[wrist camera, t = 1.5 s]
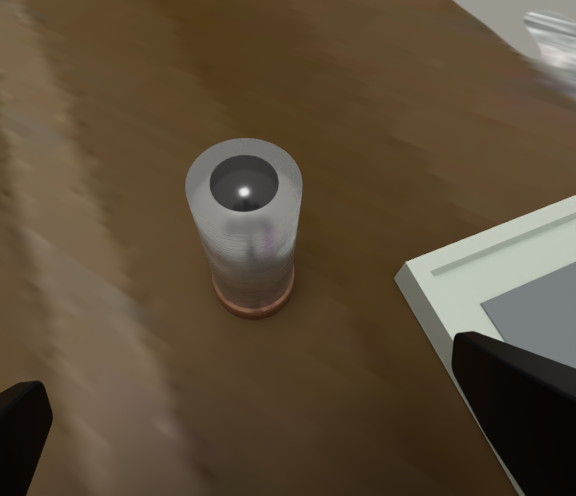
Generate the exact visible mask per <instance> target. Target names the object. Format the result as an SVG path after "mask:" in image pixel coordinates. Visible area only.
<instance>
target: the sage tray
mask: <svg viewBox="0 0 576 496" xmlns="http://www.w3.org/2000/svg"><path fill="white" fill-rule="evenodd" d="M394 280H395V282H396V283H397V285H398V287H399V288H400V290H401V292H402V294H403V295H404V297H405V299H406V301H407V302H408V304H409V306H410V308H411V309H412V311H413V313H414V314H415V316H416V318H417V320H418V321H419V323H420V325H421V327H422V328H423V330H424V332H425V334H426V335H427V337H428V339H429V340H430V342H431V344H432V346H433V347H434V349H435V351H436V353H437V354H438V356H439V358H440V360H441V361H442V363H443V365H444V366H445V368H446V370H447V372H448V373H449V375H450V377H451V379H452V380H453V382H454V384H455V386H456V387H457V389H458V391H459V392H460V394H461V396H462V398H463V399H464V401H465V403H466V405H467V406H468V408H469V410H470V412H471V413H472V415H473V417H474V418H475V420H476V422H477V424H478V425H479V427H480V429H481V431H482V432H483V434H484V436H485V438H486V439H487V441H488V443H489V445H490V446H491V448H492V450H493V451H494V453H495V455H496V457H497V458H498V460H499V462H500V464H501V465H502V467H503V469H504V471H505V472H506V474H507V476H508V477H509V479H510V481H511V483H512V484H513V486H514V488H515V490H516V491H517V493H518V495H519V496H525V495H524V493H523V492H522V490H521V489H520V487H519V485H518V484H517V482H516V481H515V479H514V478H513V476H512V475H511V473H510V472H509V470H508V469H507V467H506V466H505V464H504V463H503V461H502V460H501V458H500V457H499V455H498V454H497V452H496V451H495V449H494V447H493V446H492V444H491V443H490V441H489V440H488V438H487V436H486V435H485V433H484V431H483V430H482V428H481V426H480V424H479V422H478V420H477V419H476V417H475V415H474V413H473V411H472V409H471V407H470V405H469V403H468V401H467V399H466V397H465V396H464V394H463V392H462V390H461V388H460V386H459V384H458V382H457V380H456V378H455V376H454V374H453V371H452V366H451V361H452V350H453V339H454V336H455V335H456V334H457V333H459V332H467V331H475V332H478V333H481V334H483V335H486V336H489V337H492V338H494V339H497V340H500V341H503V342H505V343H508V344H511V345H513V346H516V347H519V348H522V349H524V350H527V351H530V352H533V353H535V354H538V355H541V356H543V357H546V358H549V359H552V360H554V361H557V362H560V363H562V364H565V365H568V366H571V367H573V368H576V195H575V196H572V197H570V198H567V199H565V200H562V201H560V202H557V203H555V204H552V205H549V206H547V207H544V208H542V209H539V210H537V211H534V212H532V213H529V214H527V215H524V216H521V217H519V218H516V219H514V220H511V221H509V222H506V223H504V224H501V225H499V226H496V227H494V228H491V229H488V230H486V231H483V232H481V233H478V234H476V235H473V236H471V237H468V238H466V239H463V240H460V241H458V242H455V243H453V244H450V245H448V246H445V247H443V248H440V249H438V250H435V251H433V252H430V253H427V254H425V255H422V256H420V257H417V258H415V259H412V260H410V261H407V262H405V264H404V265H403V266H402V268H401V269H400V270H399V272H398V273H397V275H396V276H395V277H394Z"/></svg>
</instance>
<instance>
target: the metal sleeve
mask: <svg viewBox="0 0 576 496" xmlns="http://www.w3.org/2000/svg"><path fill="white" fill-rule="evenodd" d="M185 190H186V196H187V200H188V203H189V206H190V209H191V212H192V215H193V218H194V221H195V224H196V226H197V229H198V232H199V235H200V238H201V241H202V244H203V247H204V250H205V253H206V256H207V259H208V262H209V265H210V268H211V271H212V280H213V285H214V288H215V291H216V293H217V296H218V298H219V300H220V302H221V304H222V305H223V306H224V307H225V308H226V309H227V310H228V311H229V312H231V313H232V314H234V315H236V316H238V317H241V318H244V319H251V320H256V319H263V318H266V317H269V316H271V315H274V314H275V313H277V312H278V311H279V310H281V309H282V308H283V307H284V306H285V304H286V303H287V302H288V300H289V298H290V296H291V293H292V290H293V284H294V275H295V271H294V264H293V262H294V254H295V245H296V237H297V229H298V220H299V212H300V203H301V195H302V177H301V173H300V170H299V168H298V166H297V164H296V163H295V161H294V160H293V159H292V157H291V156H290V155H289V154H288V153H286V152H285V151H284V150H283V149H281V148H280V147H278V146H276V145H274V144H272V143H269V142H266V141H263V140H258V139H251V138H239V139H232V140H228V141H224V142H221V143H218V144H216V145H214V146H212V147H210V148H209V149H207V150H206V151H204V152H203V153H202V154H201V155H200V156H199V157H198V158H197V159H196V160H195V161H194V163H193V164H192V166H191V168H190V169H189V172H188V174H187V178H186V185H185Z"/></svg>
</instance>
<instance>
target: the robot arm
mask: <svg viewBox="0 0 576 496" xmlns="http://www.w3.org/2000/svg"><path fill="white" fill-rule="evenodd" d="M451 366H452V371H453V374H454V376H455V378H456V380H457V382H458V384H459V386H460V388H461V390H462V392H463V394H464V396H465V397H466V399H467V401H468V403H469V405H470V407H471V409H472V411H473V413H474V415H475V417H476V419H477V420H478V422H479V424H480V426H481V428H482V430H483V431H484V433H485V435H486V436H487V438H488V440H489V441H490V443H491V444H492V446H493V447H494V449H495V451H496V452H497V454H498V455H499V457H500V458H501V460H502V461H503V463H504V464H505V466H506V467H507V469H508V470H509V472H510V473H511V475H512V476H513V478H514V479H515V481H516V482H517V484H518V485H519V487H520V489H521V490H522V492H523V493H524V495H525V496H576V368H573V367H571V366H568V365H565V364H562V363H560V362H557V361H554V360H552V359H549V358H546V357H543V356H541V355H538V354H535V353H533V352H530V351H527V350H524V349H522V348H519V347H516V346H513V345H511V344H508V343H505V342H503V341H500V340H497V339H494V338H492V337H489V336H486V335H483V334H481V333H478V332H475V331H467V332H459V333H457V334H456V335H455V336H454V339H453V350H452V361H451ZM52 420H53V414H52V409H51V406H50V403H49V399H48V396H47V393H46V390H45V387H44V384H43V383H42V382H40V381H28V382H20V383H17V384H15V385H14V386H12V387H10V388H8V389H7V390H5V391H3V392H1V393H0V496H26V494H27V492H28V489H29V487H30V484H31V481H32V478H33V475H34V473H35V470H36V467H37V464H38V461H39V459H40V456H41V453H42V450H43V447H44V445H45V442H46V439H47V436H48V433H49V431H50V428H51V425H52Z"/></svg>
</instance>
